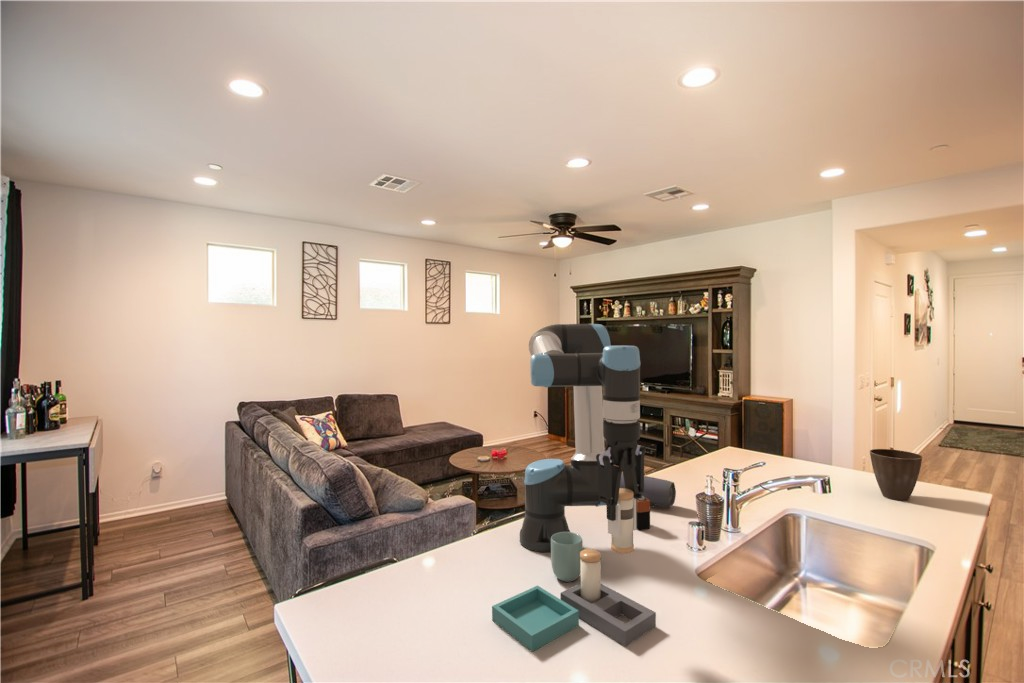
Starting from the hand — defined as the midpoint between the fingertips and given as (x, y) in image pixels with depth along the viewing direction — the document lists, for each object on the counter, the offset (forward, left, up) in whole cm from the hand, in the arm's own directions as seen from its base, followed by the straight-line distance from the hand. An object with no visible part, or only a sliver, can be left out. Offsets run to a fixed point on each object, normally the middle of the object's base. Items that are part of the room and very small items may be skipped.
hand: (622, 531), depth 99 cm
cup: (-21, +5, -20) cm, 30 cm away
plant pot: (+15, +137, -20) cm, 139 cm away
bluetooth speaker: (-41, +62, -20) cm, 77 cm away
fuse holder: (-4, 0, -20) cm, 20 cm away
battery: (-29, +45, -20) cm, 57 cm away
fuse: (-9, 0, -20) cm, 22 cm away
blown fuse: (0, 0, -4) cm, 4 cm away
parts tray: (-12, -14, -20) cm, 27 cm away
